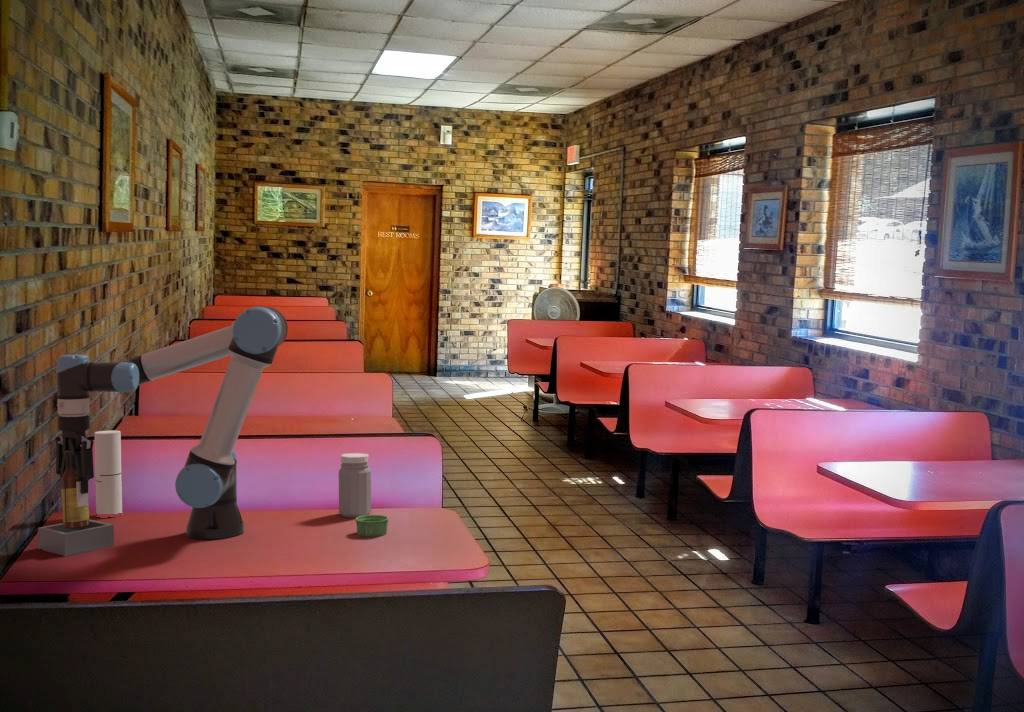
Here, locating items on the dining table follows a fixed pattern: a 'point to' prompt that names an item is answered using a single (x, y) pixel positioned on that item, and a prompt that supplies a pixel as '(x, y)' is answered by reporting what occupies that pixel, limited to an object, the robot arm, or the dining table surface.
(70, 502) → the sauce bottle
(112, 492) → the cylindrical container
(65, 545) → the grey open box
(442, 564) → the dining table surface
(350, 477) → the jar
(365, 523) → the ramekin
